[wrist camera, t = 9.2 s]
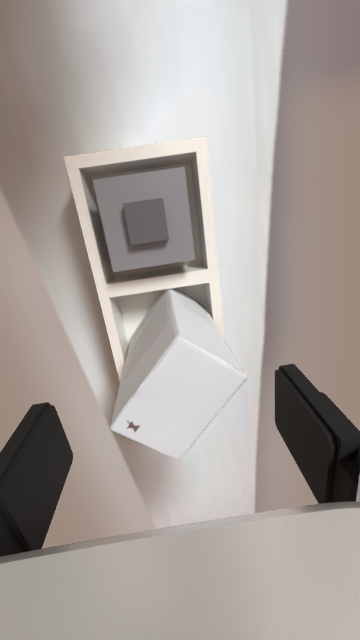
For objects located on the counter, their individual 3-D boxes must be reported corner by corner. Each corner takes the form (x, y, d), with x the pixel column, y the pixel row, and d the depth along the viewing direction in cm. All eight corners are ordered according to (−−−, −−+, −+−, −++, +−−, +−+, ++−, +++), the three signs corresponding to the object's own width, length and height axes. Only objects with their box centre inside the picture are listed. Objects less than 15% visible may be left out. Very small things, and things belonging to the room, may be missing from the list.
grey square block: (107, 189, 20) (90, 178, 15) (179, 179, 20) (185, 164, 15) (122, 263, 22) (111, 273, 17) (188, 253, 22) (196, 261, 17)
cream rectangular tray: (81, 169, 20) (62, 155, 16) (198, 152, 20) (207, 135, 17) (128, 369, 26) (122, 394, 22) (218, 355, 26) (228, 377, 22)
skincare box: (170, 357, 25) (178, 466, 14) (130, 335, 24) (104, 431, 13) (208, 305, 24) (252, 378, 12) (168, 279, 23) (175, 332, 11)
